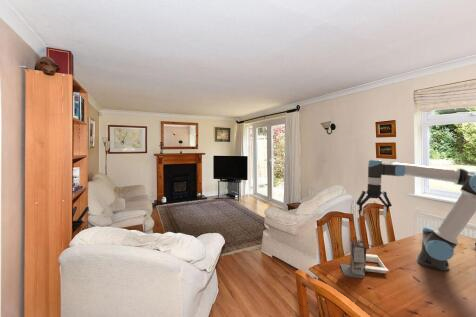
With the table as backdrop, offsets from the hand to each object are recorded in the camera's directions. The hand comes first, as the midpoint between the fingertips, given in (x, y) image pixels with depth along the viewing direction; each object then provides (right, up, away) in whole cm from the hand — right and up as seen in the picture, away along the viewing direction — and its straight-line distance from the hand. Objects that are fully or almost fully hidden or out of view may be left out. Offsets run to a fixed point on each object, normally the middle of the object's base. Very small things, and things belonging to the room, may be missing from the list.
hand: (373, 216), depth 151 cm
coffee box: (-18, -29, -14) cm, 37 cm away
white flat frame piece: (-6, -29, -8) cm, 31 cm away
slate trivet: (-21, -29, -14) cm, 38 cm away
